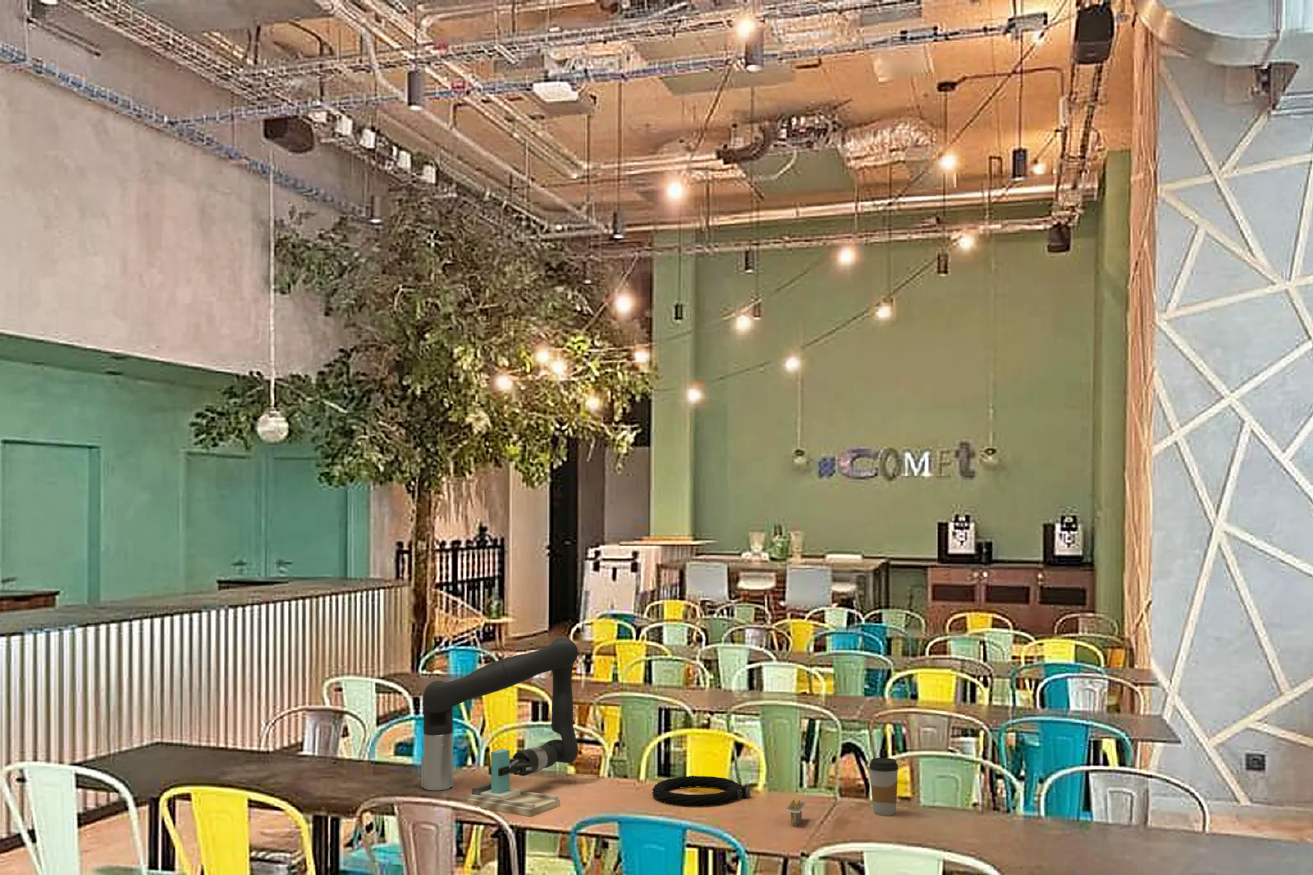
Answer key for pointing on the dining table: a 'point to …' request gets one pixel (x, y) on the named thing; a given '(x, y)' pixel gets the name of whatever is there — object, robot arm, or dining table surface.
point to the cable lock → (727, 796)
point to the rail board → (513, 801)
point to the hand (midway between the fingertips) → (494, 772)
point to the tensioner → (500, 777)
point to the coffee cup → (884, 785)
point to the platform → (796, 811)
